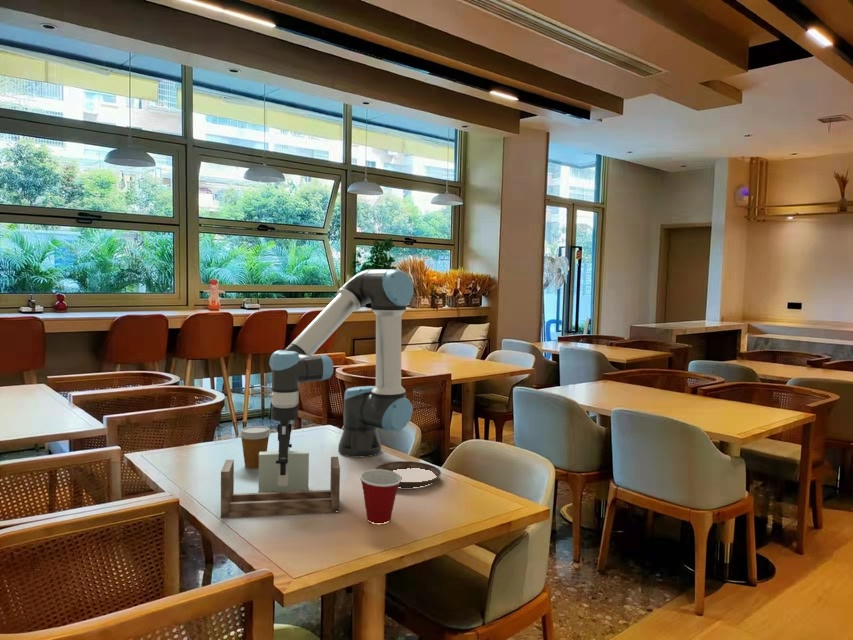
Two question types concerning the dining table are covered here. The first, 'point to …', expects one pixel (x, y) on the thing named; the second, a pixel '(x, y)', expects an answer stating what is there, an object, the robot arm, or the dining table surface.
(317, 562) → the dining table surface
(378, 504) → the plastic cup
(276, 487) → the white flat block
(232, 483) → the wooden rack
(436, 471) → the plant saucer
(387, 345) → the robot arm
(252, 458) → the disposable coffee cup
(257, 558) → the dining table surface
